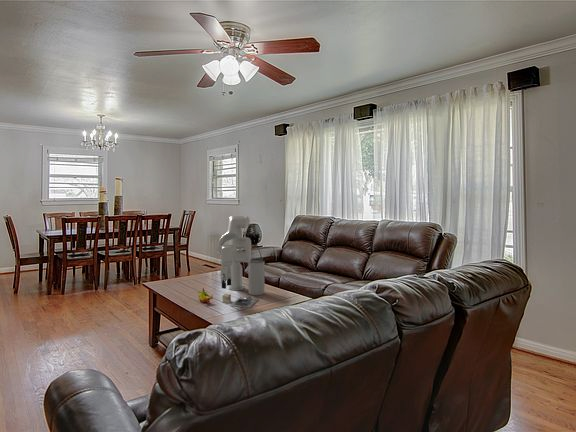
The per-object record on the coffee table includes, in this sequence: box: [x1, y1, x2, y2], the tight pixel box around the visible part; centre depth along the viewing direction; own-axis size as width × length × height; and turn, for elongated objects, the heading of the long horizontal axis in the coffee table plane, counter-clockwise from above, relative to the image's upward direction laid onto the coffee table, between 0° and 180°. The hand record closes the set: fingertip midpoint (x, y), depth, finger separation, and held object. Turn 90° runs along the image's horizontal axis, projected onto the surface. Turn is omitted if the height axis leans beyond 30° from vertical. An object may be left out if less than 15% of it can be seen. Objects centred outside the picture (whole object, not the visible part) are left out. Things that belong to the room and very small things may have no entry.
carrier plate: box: [230, 296, 259, 309], centre depth 267 cm, size 20×14×2 cm
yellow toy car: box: [197, 287, 214, 305], centre depth 269 cm, size 6×18×10 cm, turn 36°
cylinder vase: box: [248, 260, 266, 296], centre depth 291 cm, size 12×12×25 cm
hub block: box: [222, 293, 232, 304], centre depth 270 cm, size 5×5×5 cm
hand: (226, 286), depth 269 cm, fingers open, 9 cm apart
